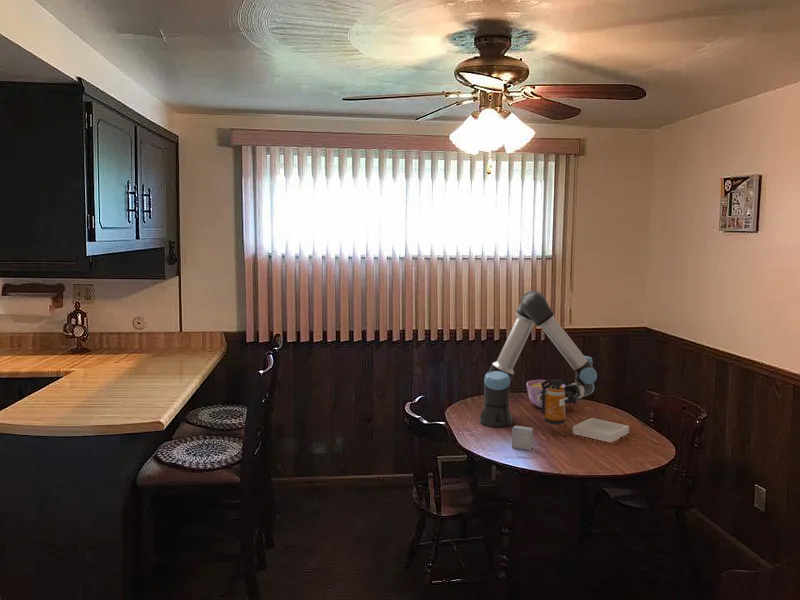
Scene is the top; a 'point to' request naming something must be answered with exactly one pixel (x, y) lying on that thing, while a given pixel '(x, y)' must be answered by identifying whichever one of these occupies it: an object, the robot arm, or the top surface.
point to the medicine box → (522, 437)
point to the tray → (600, 429)
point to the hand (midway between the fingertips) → (549, 400)
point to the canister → (553, 402)
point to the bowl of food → (536, 391)
